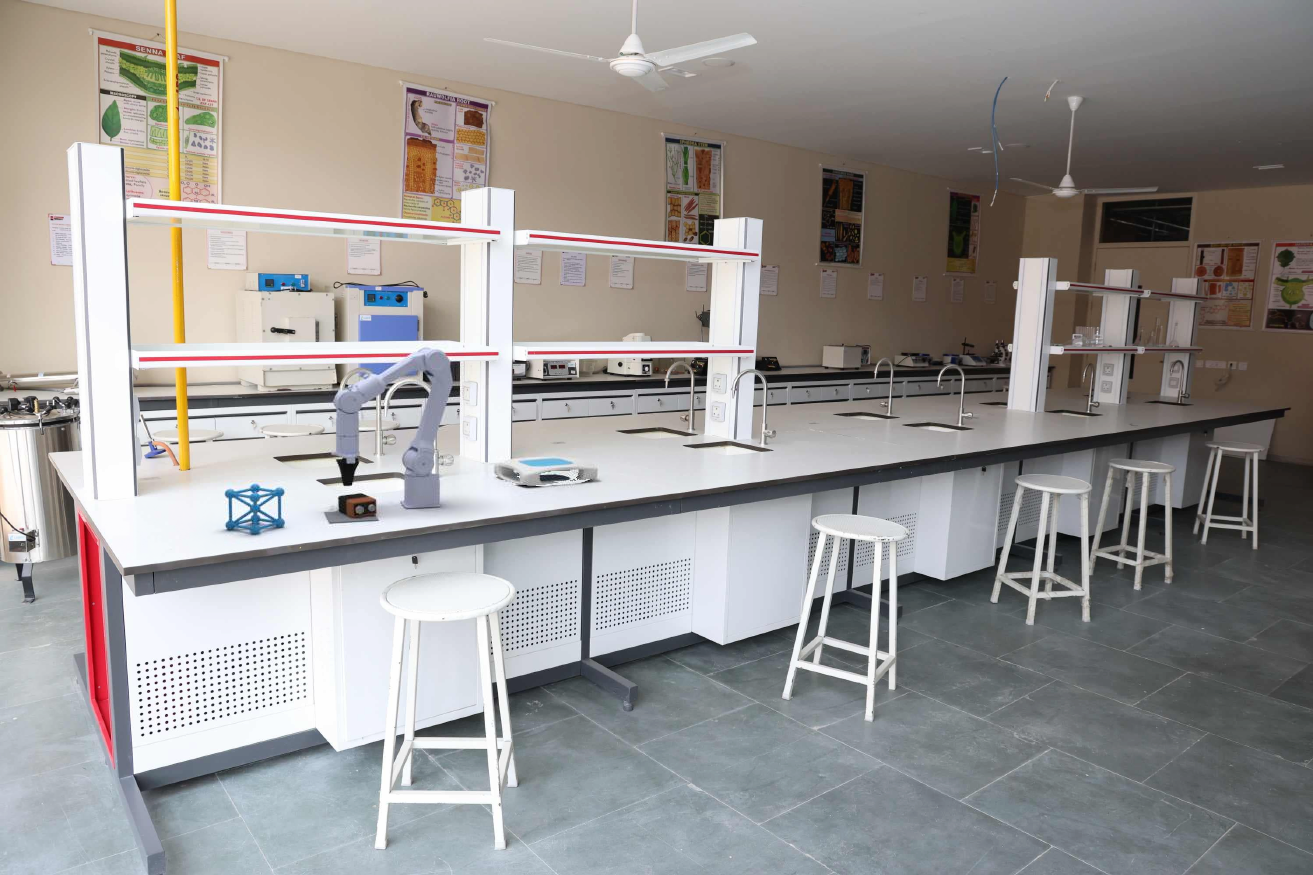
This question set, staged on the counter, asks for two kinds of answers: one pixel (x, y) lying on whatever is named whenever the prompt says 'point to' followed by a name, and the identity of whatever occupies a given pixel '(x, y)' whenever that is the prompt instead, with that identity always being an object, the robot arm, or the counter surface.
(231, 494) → the molecular structure
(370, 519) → the mat
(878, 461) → the counter surface
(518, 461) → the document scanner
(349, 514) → the battery
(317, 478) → the counter surface
